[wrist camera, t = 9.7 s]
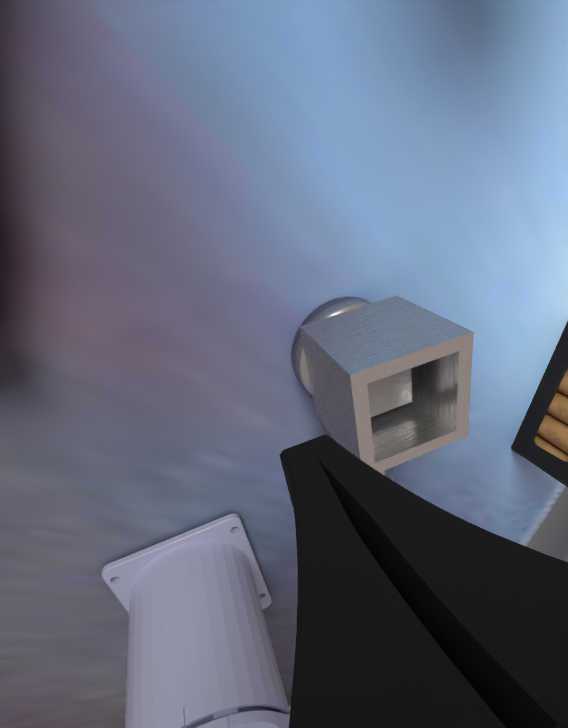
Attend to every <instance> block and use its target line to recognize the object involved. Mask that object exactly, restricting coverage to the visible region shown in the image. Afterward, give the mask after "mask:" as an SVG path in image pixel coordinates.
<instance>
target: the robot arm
mask: <svg viewBox="0 0 568 728" xmlns="http://www.w3.org/2000/svg"><path fill="white" fill-rule="evenodd" d="M280 458H281V462H282V466H283V470H284V474H285V478H286V482H287V486H288V490H289V494H290V498H291V502H292V505H293V507H294V514H295V524H296V539H297V558H298V606H297V634H296V651H295V664H294V675H293V687H292V698H291V710H290V711H289V707H288V703H287V699H286V696H285V692H284V688H283V684H282V681H281V677H280V673H279V670H278V666H277V662H276V659H275V655H274V651H273V648H272V644H271V640H270V637H269V633H268V629H267V626H266V622H265V618H264V614H263V611H262V610H263V609H265V608H267V607H269V606H270V605H271V603H272V600H271V597H270V594H269V592H268V589H267V586H266V584H265V581H264V579H263V576H262V574H261V571H260V568H259V566H258V563H257V561H256V558H255V555H254V553H253V550H252V548H251V545H250V542H249V540H248V537H247V535H246V532H245V529H244V527H243V524H242V522H241V519H240V517H239V515H237V514H229V515H226V516H224V517H222V518H219V519H217V520H214V521H212V522H209V523H207V524H204V525H202V526H200V527H197V528H195V529H192V530H190V531H187V532H185V533H182V534H180V535H178V536H175V537H173V538H170V539H168V540H165V541H163V542H160V543H158V544H155V545H153V546H151V547H148V548H146V549H143V550H141V551H138V552H136V553H133V554H131V555H129V556H126V557H124V558H121V559H119V560H116V561H114V562H111V563H109V564H107V565H105V566H104V567H103V569H102V578H103V579H104V581H105V582H106V583H107V585H108V586H109V587H110V589H111V590H112V592H113V593H114V594H115V596H116V597H117V598H118V600H119V601H120V602H121V604H122V605H123V606H124V608H125V609H126V611H127V612H128V613H129V632H128V660H127V688H126V716H125V728H568V562H565V561H563V560H560V559H556V558H554V557H551V556H548V555H545V554H543V553H541V552H538V551H536V550H533V549H530V548H528V547H526V546H523V545H521V544H518V543H516V542H513V541H510V540H508V539H505V538H503V537H500V536H498V535H496V534H493V533H491V532H489V531H487V530H484V529H482V528H480V527H478V526H476V525H473V524H471V523H469V522H467V521H465V520H463V519H461V518H459V517H457V516H455V515H453V514H451V513H449V512H447V511H445V510H443V509H441V508H439V507H437V506H435V505H433V504H432V503H430V502H428V501H426V500H424V499H423V498H421V497H419V496H417V495H416V494H414V493H412V492H410V491H409V490H407V489H405V488H404V487H402V486H400V485H399V484H397V483H395V482H394V481H392V480H391V479H389V478H388V477H386V476H385V475H383V474H381V473H380V472H378V471H377V470H375V469H374V468H372V467H371V466H369V465H368V464H366V463H365V462H364V461H362V460H361V459H359V458H358V457H356V456H355V455H354V454H352V453H351V452H350V451H348V450H347V449H345V448H344V447H343V446H341V445H340V444H339V443H338V442H336V441H335V440H334V439H332V438H331V437H330V436H328V435H326V434H325V435H323V436H320V437H317V438H315V439H312V440H309V441H307V442H304V443H301V444H299V445H296V446H293V447H290V448H288V449H285V450H283V451H282V452H281V454H280ZM233 527H235V528H233Z"/></svg>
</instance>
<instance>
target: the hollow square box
mask: <svg viewBox="0 0 568 728" xmlns="http://www.w3.org/2000/svg"><path fill="white" fill-rule="evenodd" d="M300 331H301V337H302V342H303V348H304V353H305V358H306V364H307V369H308V375H309V380H310V385H311V391H312V396H313V402H314V407H315V413H316V415H317V416H318V418H319V419H320V420H321V422H322V423H323V425H324V426H325V427H326V429H327V430H328V432H329V433H330V434H331V436H332V437H333V439H334V440H335V441H336V442H338V443H339V444H340V445H341V446H343V447H344V448H345V449H347V450H348V451H350V452H351V453H352V454H354V455H355V456H356V457H358V458H359V459H361V460H362V461H364V462H365V463H366V464H368V465H369V466H371V467H372V468H374V469H375V470H377V471H378V472H382V471H384V470H387V469H389V468H392V467H394V466H397V465H399V464H401V463H404V462H406V461H409V460H411V459H414V458H416V457H419V456H421V455H423V454H426V453H428V452H431V451H433V450H436V449H438V448H441V447H443V446H446V445H448V444H450V443H453V442H455V441H458V440H460V439H463V438H465V437H467V436H468V419H469V401H470V384H471V367H472V349H473V331H471V330H469V329H467V328H464V327H462V326H460V325H458V324H456V323H454V322H452V321H450V320H448V319H445V318H443V317H441V316H439V315H437V314H435V313H433V312H431V311H428V310H426V309H424V308H422V307H420V306H418V305H416V304H414V303H412V302H409V301H407V300H405V299H403V298H401V297H399V296H394V297H391V298H387V299H384V300H381V301H378V302H375V303H371V304H368V305H365V306H362V307H359V308H356V309H352V310H349V311H346V312H343V313H340V314H336V315H333V316H330V317H327V318H324V319H320V320H317V321H314V322H311V323H308V324H305V325H301V326H300ZM410 368H411V384H412V402H409V403H407V404H404V405H402V406H399V407H397V408H394V409H391V410H389V411H386V412H384V413H381V414H379V415H376V416H373V417H370V407H369V397H368V387H367V384H368V383H371V382H374V381H377V380H379V379H382V378H385V377H388V376H391V375H393V374H396V373H399V372H402V371H405V370H407V369H410Z"/></svg>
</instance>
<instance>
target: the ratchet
mask: <svg viewBox="0 0 568 728" xmlns="http://www.w3.org/2000/svg"><path fill="white" fill-rule="evenodd" d="M368 304H371V302H369V301H367V300H364V299H362V298H357V297H341V298H337V299H333V300H331V301H328V302H326V303H324V304H323V305H321V306H319V307H318V308H317V309H315V310H314V311H313V312H312V313H311V314H309V316H308V317H307V318H306V319H305V320H304V322H303V323H302V324H301V325H305V324H308V323H311V322H314V321H317V320H320V319H324V318H327V317H330V316H333V315H336V314H340V313H343V312H346V311H349V310H352V309H356V308H359V307H362V306H365V305H368ZM291 356H292V366H293V369H294V372H295V374H296V376H297V378H298V379H299V381H300V382H301V383H302V385H303V386H304V387H305V389H306V390H307V391H308V393H309V394H310V395H311V396H312V391H311V385H310V380H309V375H308V369H307V364H306V358H305V353H304V348H303V342H302V337H301V331H300V328H299V329H298V331H297V333H296V336H295V338H294V342H293V345H292V353H291ZM367 387H368V397H369V407H370V417H373V416H376V415H379V414H381V413H384V412H386V411H389V410H391V409H394V408H397V407H399V406H402V405H404V404H407V403H409V402H412V384H411V368H410V369H407V370H405V371H402V372H399V373H396V374H393V375H391V376H388V377H385V378H382V379H379V380H377V381H374V382H371V383H368V384H367ZM312 397H313V396H312ZM380 473H381V474H383V475H385V470H384V471H382V472H380Z"/></svg>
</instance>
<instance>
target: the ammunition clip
mask: <svg viewBox="0 0 568 728" xmlns="http://www.w3.org/2000/svg"><path fill="white" fill-rule="evenodd" d="M511 448H512V450H514V451H515V452H517V453H518V454H520V455H521V456H523V457H524V458H526V459H527V460H529V461H530V462H531V463H533V464H534V465H536V466H537V467H539V468H540V469H542V470H543V471H545V472H546V473H548V474H549V475H551V476H552V477H553V478H555V479H556V480H558V481H559V482H561V483H562V484H564V485H565V486H567V487H568V322H567V324H566V326H565V328H564V331H563V333H562V335H561V337H560V340H559V342H558V344H557V346H556V348H555V351H554V353H553V355H552V357H551V360H550V362H549V364H548V366H547V369H546V371H545V373H544V375H543V378H542V380H541V382H540V384H539V386H538V389H537V391H536V393H535V395H534V398H533V400H532V402H531V404H530V407H529V409H528V411H527V413H526V415H525V418H524V420H523V422H522V424H521V427H520V429H519V431H518V433H517V436H516V438H515V440H514V442H513V444H512V447H511Z"/></svg>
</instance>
